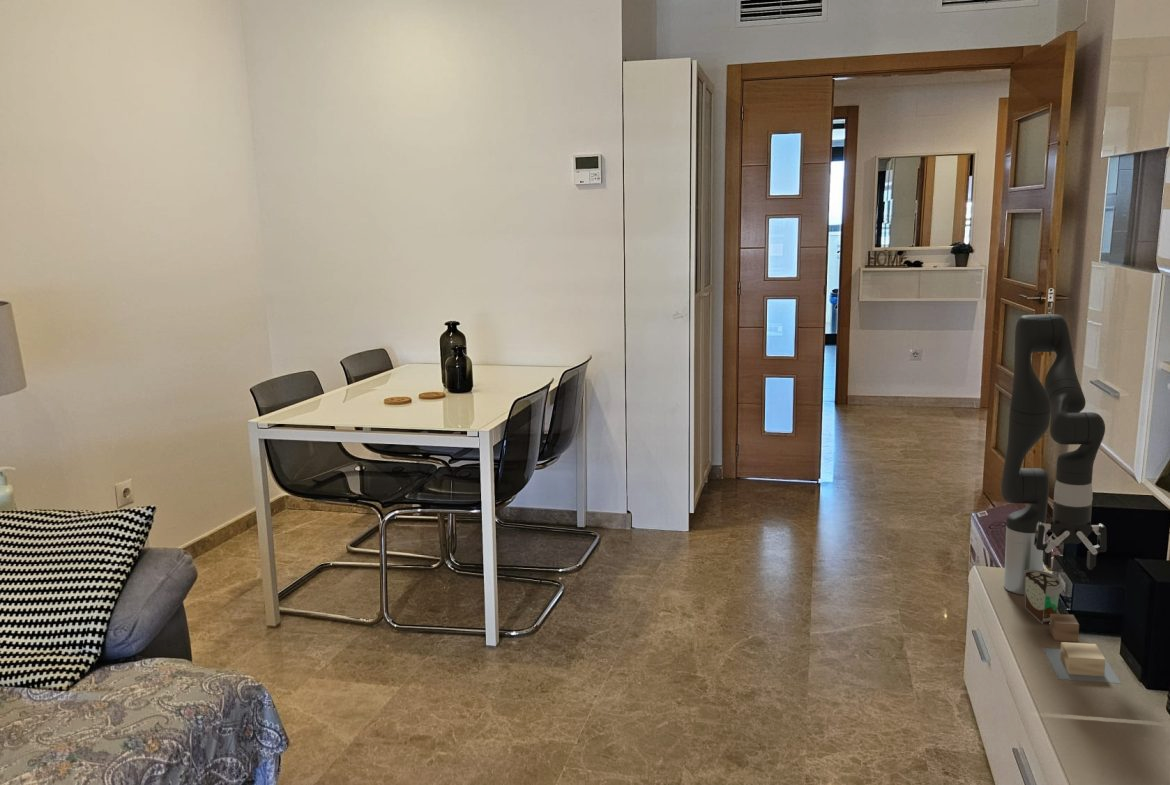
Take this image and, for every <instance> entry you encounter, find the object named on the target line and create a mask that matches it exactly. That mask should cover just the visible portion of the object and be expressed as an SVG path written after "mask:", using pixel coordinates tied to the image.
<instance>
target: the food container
mask: <svg viewBox="0 0 1170 785" xmlns="http://www.w3.org/2000/svg"><path fill="white" fill-rule="evenodd" d="M1024 577H1025V595H1024V609H1025V610H1027V612H1028V613H1030V612H1031V613H1030V614H1031V615H1032V616H1033V617H1034V618H1035V619H1037V621H1038V622H1039V623H1040V622H1041V623H1040V624H1041V625H1050V624H1049V623H1050V614H1058V605H1059V599H1060V595H1061V594H1062V593H1063V591H1064V588H1063V583H1062V581H1061V579H1060V578H1059V577H1058V576H1056V575H1055V574H1053V573H1050V572H1047V571H1044V570H1043V571H1038V570H1025V572H1024Z"/></svg>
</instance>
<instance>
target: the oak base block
mask: <svg viewBox="0 0 1170 785" xmlns="http://www.w3.org/2000/svg"><path fill="white" fill-rule="evenodd" d="M1060 649H1061V650H1060V659H1061V661H1062V663H1063V665H1064V667H1065V668H1066V670H1067V672H1068V674H1075V675H1090V676H1104V673H1105V659H1106V657H1105V656H1104V655H1102V654H1103V653H1102V651H1101V650H1100V649H1099V646H1098V645H1097V643H1086V642H1085V643H1083V642H1070V641H1061V642H1060ZM1104 657H1105V658H1104Z"/></svg>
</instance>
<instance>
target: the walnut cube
mask: <svg viewBox="0 0 1170 785" xmlns="http://www.w3.org/2000/svg"><path fill="white" fill-rule="evenodd" d="M1048 625H1049V627H1048V629H1049V633H1050V635H1051V636H1052V638H1053V640H1054V641H1061V642H1079V634H1080V633H1079V632H1080V624H1079V622H1078V620H1077V618H1076V617H1075V614H1065V613H1064V614H1063V613H1057V614H1050V624H1048Z"/></svg>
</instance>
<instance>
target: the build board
mask: <svg viewBox="0 0 1170 785" xmlns="http://www.w3.org/2000/svg"><path fill="white" fill-rule="evenodd" d="M1042 649H1043V651H1044V654H1045V655H1046V657H1047V659H1048V661H1049V662H1050V664H1051V666H1052V669H1053V671H1054V673H1055V676H1056V677H1057V678H1058V680H1063V681H1064V680H1066V681H1077V682H1079V681H1081V682H1094V683H1095V682H1096V683H1110V684H1111V683H1112V684H1122V683H1121V680H1120V679H1119V678H1118V676H1117V674H1116V673H1115V671H1114V669H1112V667H1111V665H1110V664H1109V662H1108V660H1107V659H1106V657H1105V656H1104V655H1103V653H1102V655H1103V656H1104V658H1105V673H1104V676H1090V675H1075V674H1068V672H1067V670H1066V668H1065V667H1064V665H1063V663H1062V661H1061V659H1060V650H1061V648H1046V647H1044V648H1043V647H1042Z"/></svg>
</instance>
